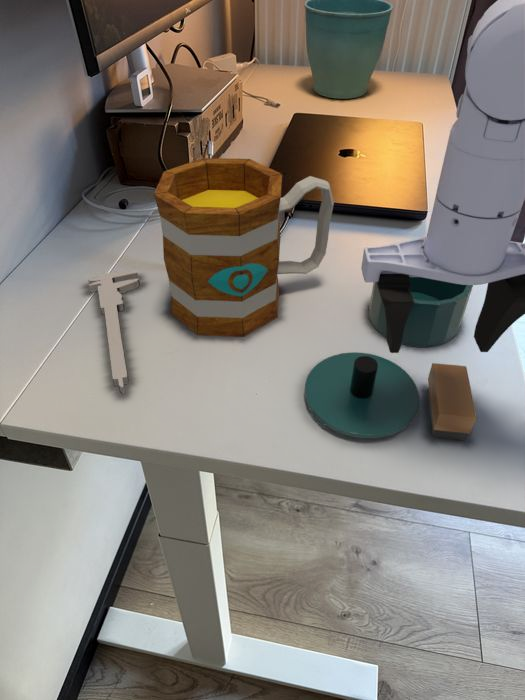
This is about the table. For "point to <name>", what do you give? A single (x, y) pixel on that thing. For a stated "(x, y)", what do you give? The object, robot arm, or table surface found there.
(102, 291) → the caliper
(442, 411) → the tall bronze cuboid
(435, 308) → the pot
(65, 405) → the table surface
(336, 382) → the pot lid
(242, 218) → the mug
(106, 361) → the table surface
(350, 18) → the flower pot
